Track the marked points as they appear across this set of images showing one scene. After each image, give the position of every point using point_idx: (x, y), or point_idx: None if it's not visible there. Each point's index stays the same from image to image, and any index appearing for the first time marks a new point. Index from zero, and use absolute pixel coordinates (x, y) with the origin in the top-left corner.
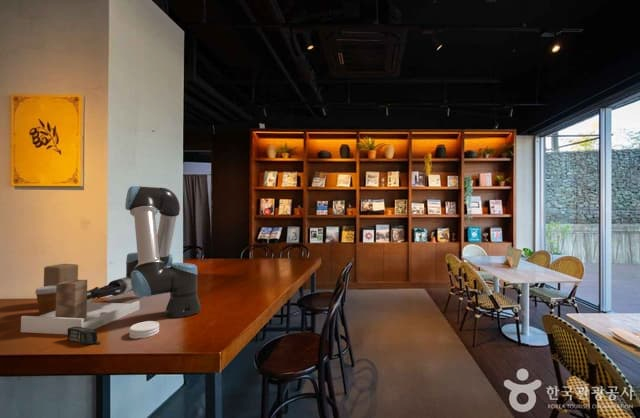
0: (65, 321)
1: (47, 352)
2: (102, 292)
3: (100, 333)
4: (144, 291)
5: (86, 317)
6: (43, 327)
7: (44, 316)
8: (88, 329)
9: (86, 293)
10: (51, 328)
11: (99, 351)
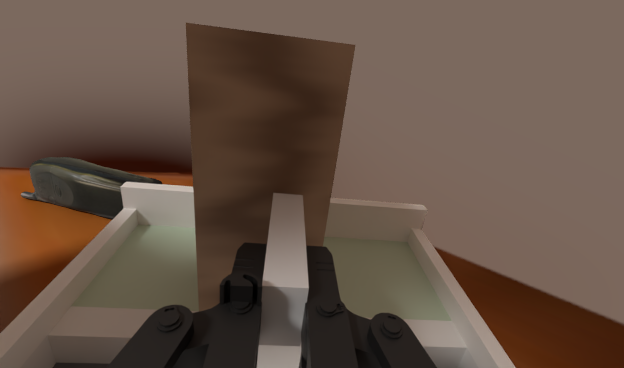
0: None
1: (169, 178)
2: (115, 364)
3: (47, 253)
4: None
5: None
6: None
7: (442, 288)
8: (63, 160)
9: (192, 160)
10: None
11: (16, 175)
